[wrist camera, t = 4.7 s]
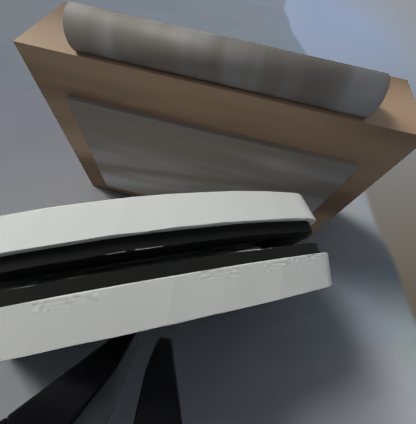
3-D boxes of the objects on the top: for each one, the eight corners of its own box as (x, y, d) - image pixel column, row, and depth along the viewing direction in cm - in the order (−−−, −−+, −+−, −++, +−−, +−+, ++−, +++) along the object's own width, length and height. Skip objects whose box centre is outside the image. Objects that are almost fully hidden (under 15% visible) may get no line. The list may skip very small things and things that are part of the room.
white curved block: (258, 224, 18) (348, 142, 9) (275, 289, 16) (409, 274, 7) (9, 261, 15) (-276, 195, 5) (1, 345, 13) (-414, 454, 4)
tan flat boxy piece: (307, 241, 18) (469, 111, 8) (91, 188, 18) (-18, 0, 8) (308, 195, 20) (434, 48, 10) (114, 149, 20) (50, -39, 10)
